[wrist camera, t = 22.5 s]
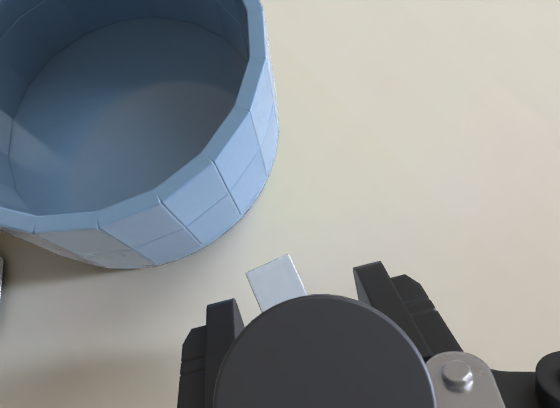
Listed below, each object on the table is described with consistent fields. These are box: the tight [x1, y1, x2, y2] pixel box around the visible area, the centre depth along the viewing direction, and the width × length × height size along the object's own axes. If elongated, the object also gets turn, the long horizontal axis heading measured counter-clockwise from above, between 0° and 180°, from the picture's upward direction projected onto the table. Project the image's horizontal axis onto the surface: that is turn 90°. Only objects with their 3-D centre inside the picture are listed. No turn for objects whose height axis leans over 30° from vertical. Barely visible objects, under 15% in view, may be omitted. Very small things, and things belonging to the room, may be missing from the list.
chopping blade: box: [213, 254, 437, 408], centre depth 13 cm, size 8×8×12 cm
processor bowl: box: [0, 0, 279, 269], centre depth 21 cm, size 13×13×6 cm
